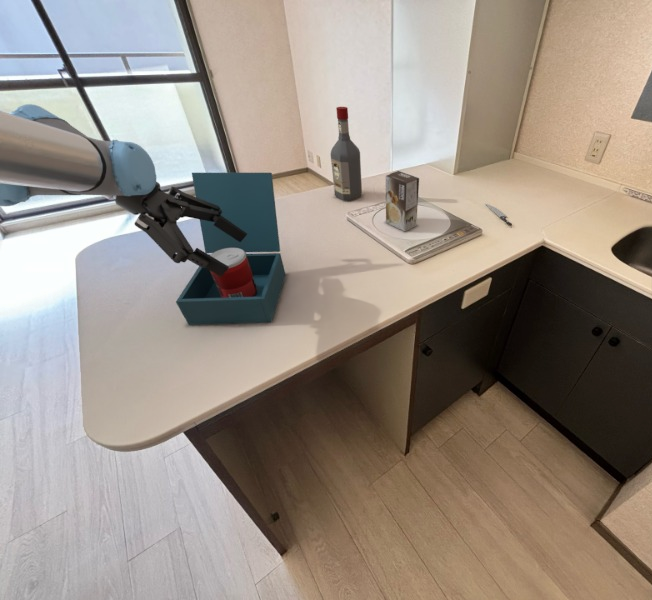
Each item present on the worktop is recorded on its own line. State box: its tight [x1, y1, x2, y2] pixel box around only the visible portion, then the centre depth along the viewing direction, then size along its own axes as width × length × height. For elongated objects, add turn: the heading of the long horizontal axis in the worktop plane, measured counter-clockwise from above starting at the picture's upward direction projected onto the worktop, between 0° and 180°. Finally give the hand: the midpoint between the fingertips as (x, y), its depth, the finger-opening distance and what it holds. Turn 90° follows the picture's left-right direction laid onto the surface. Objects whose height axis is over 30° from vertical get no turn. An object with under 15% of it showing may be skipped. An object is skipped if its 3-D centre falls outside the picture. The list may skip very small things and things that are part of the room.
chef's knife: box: [485, 203, 513, 227], centre depth 117 cm, size 19×1×3 cm
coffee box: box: [385, 170, 420, 232], centre depth 105 cm, size 9×6×16 cm
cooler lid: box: [191, 172, 281, 254], centre depth 80 cm, size 19×18×5 cm
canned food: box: [209, 248, 257, 298], centre depth 75 cm, size 8×8×11 cm
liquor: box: [330, 106, 363, 202], centre depth 116 cm, size 9×9×30 cm
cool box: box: [175, 252, 287, 326], centre depth 77 cm, size 18×18×7 cm
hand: (235, 253), depth 71 cm, fingers open, 13 cm apart
